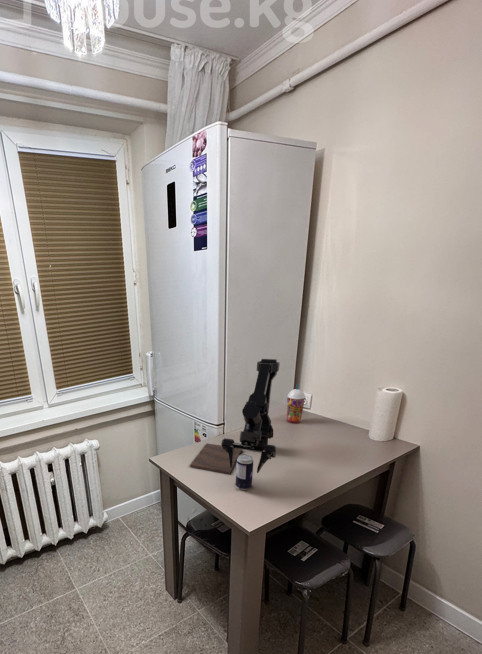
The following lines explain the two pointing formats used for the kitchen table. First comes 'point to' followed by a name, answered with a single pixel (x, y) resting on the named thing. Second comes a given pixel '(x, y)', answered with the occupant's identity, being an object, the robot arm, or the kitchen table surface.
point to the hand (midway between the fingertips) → (244, 470)
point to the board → (215, 459)
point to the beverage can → (244, 472)
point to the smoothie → (295, 405)
